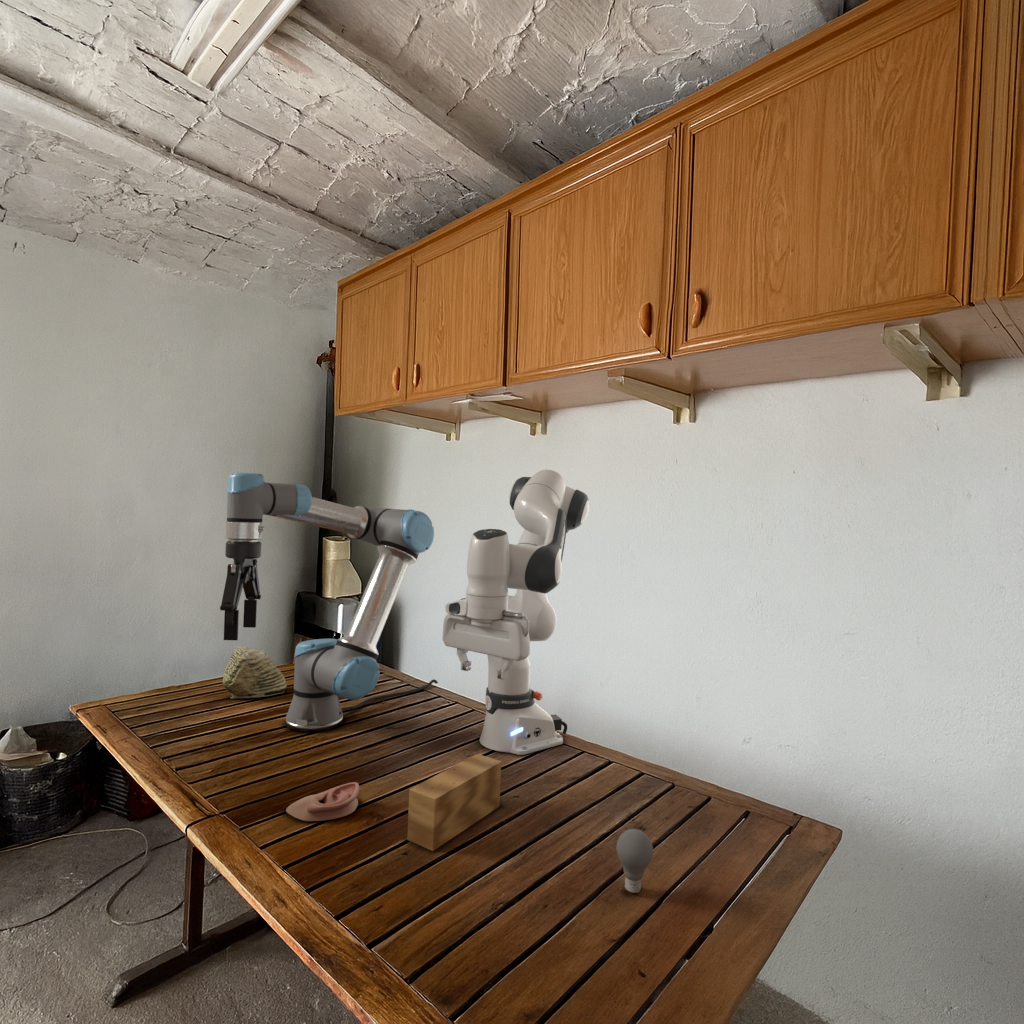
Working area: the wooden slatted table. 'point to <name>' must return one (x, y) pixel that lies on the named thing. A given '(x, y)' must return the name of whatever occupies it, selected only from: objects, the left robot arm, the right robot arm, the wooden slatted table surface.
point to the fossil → (252, 674)
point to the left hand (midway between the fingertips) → (240, 633)
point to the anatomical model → (326, 804)
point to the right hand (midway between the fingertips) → (483, 674)
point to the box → (453, 801)
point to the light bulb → (634, 857)
